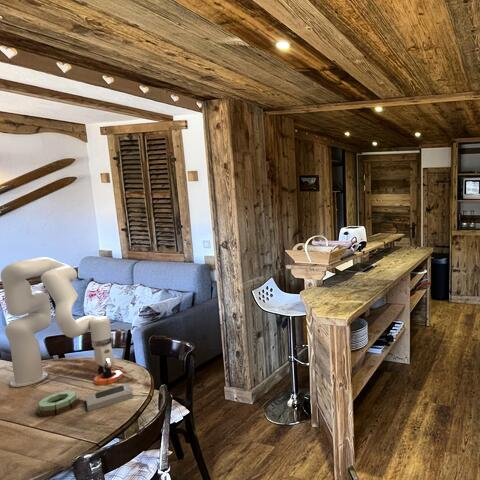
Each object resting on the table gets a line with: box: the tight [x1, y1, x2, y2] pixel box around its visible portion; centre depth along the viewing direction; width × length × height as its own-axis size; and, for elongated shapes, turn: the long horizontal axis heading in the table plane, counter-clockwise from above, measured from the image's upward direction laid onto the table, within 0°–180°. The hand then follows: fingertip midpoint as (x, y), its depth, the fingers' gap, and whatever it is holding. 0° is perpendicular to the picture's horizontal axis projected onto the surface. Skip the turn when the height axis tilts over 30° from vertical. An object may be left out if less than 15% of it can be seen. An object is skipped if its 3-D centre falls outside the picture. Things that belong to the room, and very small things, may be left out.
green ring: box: [37, 390, 78, 411], centre depth 150 cm, size 11×11×2 cm
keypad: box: [85, 383, 133, 412], centre depth 156 cm, size 10×4×15 cm
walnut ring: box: [36, 396, 80, 418], centre depth 150 cm, size 12×12×2 cm
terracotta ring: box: [93, 369, 124, 386], centre depth 173 cm, size 10×10×2 cm
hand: (105, 376), depth 175 cm, fingers open, 5 cm apart
